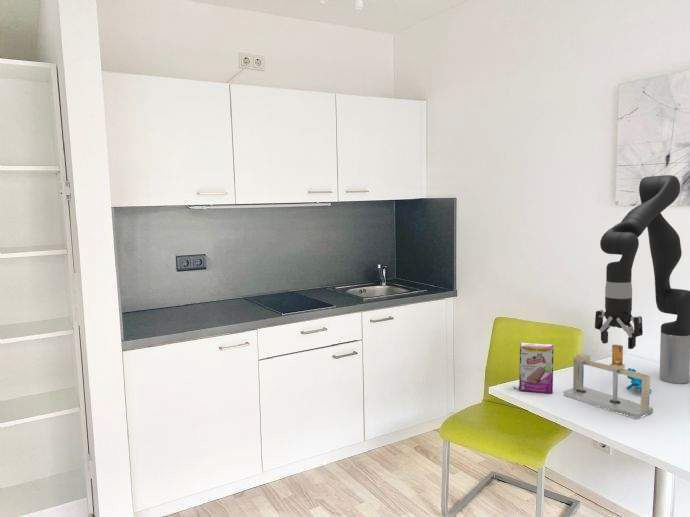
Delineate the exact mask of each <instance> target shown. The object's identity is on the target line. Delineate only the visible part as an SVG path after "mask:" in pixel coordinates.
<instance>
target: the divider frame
mask: <svg viewBox="0 0 690 517" xmlns="http://www.w3.org/2000/svg"><path fill="white" fill-rule="evenodd" d="M590 357H591V355H590V354H589V355H588V354H584V353H578V354H576V356H575V357H573V363H572V364H573V366H572V367H573V368H572V369H573V372H572V373H573V375H572V376H573V377H572V378H573V380H572V381H573V384H572V388H569V389H565V390H563V396H565V397H567V396H568V398H570V397H571V398H570V399H573V398H574V399H573V400H576V399H577V400H576V401H579V400H581V401H580V402H582V401H584V402H583V403H585V402H586V404H588V403H590V404H589V405H591V404H593V405H592V406H594V405H596V406H595V407H597V406H600V407H603V408H606V409H609V410H612V411H615V412H618V413H622V414H625V415H628V416H631V417H634V418H636V419H637V418H639V417H641V416H643V415H646V414H648V415H650V414H649V413H651V414H653V413H654V407H651V406H650V395H651V391H650V389H651V375H649V374H646V373H640V372H639V373H638V372H637V371H636V372H633V371H629V370H627V369H626V368H624V369H621V370H618V375H623V376H626V377H627V376H630V377H634V378H637V379H641V380H642V389H641V396H640V398H641V399H640V400H641V401H640V403H638V402H635V401H631V400H628V399H625V398H621V397H619V396H618V397H617V401H614V400H613V394H609V393H606V392H603V391H599V390H596V389H592V388H589V387H586V386H584V379H585V378H584V374H585V373H584V370H585V369H584V367H585V366H588V367H593V368H595V369H596V368H597V369H599V370H600V369H601V370H604V371H607V372H612V373H613V368H610V364H606V363H601V362H598V361H595V360H590V359H591V358H590ZM600 407H599V408H600ZM603 408H602V409H603ZM606 409H605V410H606ZM609 410H608V411H609ZM612 411H611V412H612ZM615 412H614V413H615ZM652 412H653V413H652ZM618 413H617V414H618ZM646 416H647V415H646ZM641 418H642V417H641ZM636 419H635V420H636ZM639 419H640V418H639ZM637 420H638V419H637Z"/></svg>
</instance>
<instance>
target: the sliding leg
mask: <svg viewBox="0 0 690 517" xmlns="http://www.w3.org/2000/svg"><path fill="white" fill-rule="evenodd" d="M611 347H612V348H611V363H609V365H610V368H613V372H612V395H613V400H614V401H617V397H619V395H618V392H619V391H618V390H619V389H618V385H619V383H618V382H619V374H618V370H621V369H626V368H625V366H626V365H625V364H624V362H623V359H624V357H623V356H624V346H623V345H621V344H612V346H611Z"/></svg>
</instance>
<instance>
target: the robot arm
mask: <svg viewBox="0 0 690 517" xmlns="http://www.w3.org/2000/svg"><path fill="white" fill-rule="evenodd" d="M638 187H639V189H638V191H639V192H638V193H639V198H640V203H641V204H638V205H637V206H635V207H634V208H632V209H631V210H630V211H628V213H626V215H625V216H624V217H623V219H622V220H621V221H620V222H619V223H617V224H615V225H613V226H612V227H610V228H609V229H608V230H606V232H604V233H603V235H602V236H601V239H600V240H599V241H600V243H599V245H600V246H599V247H600V249H601V250H602V252H603V253H605V254H608V255H621V257H620V259H619V260H618V261H613V262H608V263H607V264H606V267H605V268H606V272H605V273H606V274H605V275H606V276H605V278H606V280H605V286H604V287H605V289H604V309H605V311H604V310H603V309H600V310H597V311H595V319H594V328H595V329H596V330H599V331H600V340H601V343H602V344H608V343H609V331H608V330H609V329H610V328H611V327H612V328H618V329H622V330H623V331H624V333H626V334H627V336H628V337H627V349H628V350H632V349H634V348H635V347H636V345H637V344H636V342H637V341H636V340H637V337H641V336H643V332H644V331H643V317H642V316H641V315H639V316H633V315H632V309H633V286H632V276H633V275H632V273H633V272H632V270H633V265H634V262H635V258H636V254H637V252H638V249H639V247H640V246H639V244H640V241H639V237H641V235H642V234H643V233H644V231H645V230H646V228H647V235H648V242H649V243H648V244H649V245H648V246H649V249H650V255H651V260H652V261H651V262H652V268H653V274H654V275H653V276H654V290H655V294H654V295H655V303H656V304H655V305H656V308H657V309H658V311H660V312H661V313H663V314H668V315H669V314H670V315H676V320H674V321H670V322H664V323H662V324H661V325H660V344H659V345H660V346H659V350H660V351H659V379H660V380H662V381H664V382H668V383H672V384H687V383H690V290H689V289H681V288H674V287H673V288H672V287H671V281H670V280H671V275H672V273H673V272H674V269H675V268H676V266H677V265H678V264H679V262H680V260H681V258H682V253H683V252H682V251H683V250H682V245H681V238H680V235H679V233H678V232H677V230H676V229H675V228H674V227H673V226H672V225H671V224H670V222H668V220H666V219H665V217H664V216H663V215H662V212H663V211H665V210H666V209H667V208H668V207H669V206H670V205H672V204H673V203H674V202H675V201H676V200H677V199H678V198H679V196H680V193H681V183H680V180H679V178H678V177H677V176H675V175H671V174H669V175H668V174H666V175H665V174H664V175H653V176H652V175H651V176H645V177H643V178H641V180H640V182H639V186H638ZM604 318H605V320H606V321H605V322H604ZM631 321H632V323H631Z"/></svg>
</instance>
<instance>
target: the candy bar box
mask: <svg viewBox="0 0 690 517" xmlns="http://www.w3.org/2000/svg"><path fill="white" fill-rule="evenodd" d="M554 350H555V349H554V345H553V344H549V343H548V344H546V343H531V342H520V343H519V376H518V377H519V380H518V381H519V384H518V385H519V387H518V388H519V389H518V390H519V392H528V393H529V392H532V393H542V394H553V390H554V387H553V386H554Z"/></svg>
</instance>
